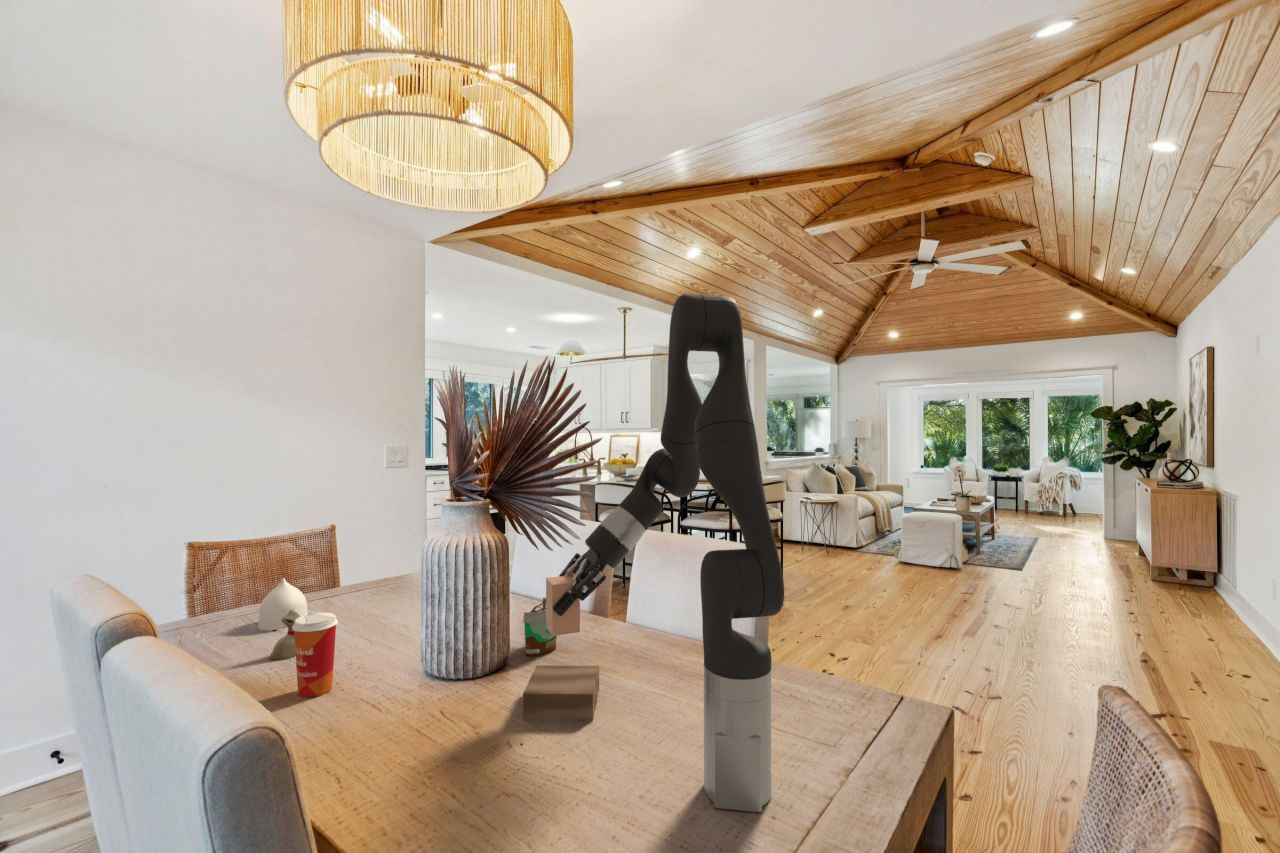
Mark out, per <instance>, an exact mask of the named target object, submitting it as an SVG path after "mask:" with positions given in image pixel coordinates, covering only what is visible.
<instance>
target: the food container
mask: <svg viewBox="0 0 1280 853" xmlns="http://www.w3.org/2000/svg"><path fill="white" fill-rule="evenodd" d="M522 619H523V623H524V642H525V657H526V656H527V657H526V658H531V657H532V658H534V656H537V657H542V656H547V655H551V653H554V652H555V651H556V649H557V638H558V637H557V636H558V635H555V636H552V635H551V633H550V632H549V630H548V629H547V627H546V597H542V602H541V603H540V604H538V605H535V606H534V607H533V608H532V609H531V611H529V612H528V611H527V612H525V611H524V612H523V618H522ZM553 651H554V652H553ZM546 654H547V655H546ZM528 656H529V657H528Z"/></svg>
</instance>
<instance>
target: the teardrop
mask: <svg viewBox="0 0 1280 853" xmlns="http://www.w3.org/2000/svg"><path fill="white" fill-rule="evenodd" d="M258 609H259V610H258V622H257V628H259V629H258V630H260V629H261V630H260V631H263V630H279V629H285V628H288V627H287V626H286V625H285V624H284V623H282V621H281V620H282V618H283V617H285V616H286V615H287V614H288V613H289V611H290V610H294V611H295V612H297V613H298V614H299V615H300V616H304V617H305V616H306V615H309V614H308V602H307V599H306V596H305V595H304V593H303V592H302V591H301V590H300V589H299V588H297V587H295V586H294V585H292V584H290V583H289V582H287V580H286V579H285V576H284V577H282V579H281V581H280V583H278V585H277V586H276V587H274V588H273V589H272V590H270V592H269V593H267V594H266V596H265V597H264V598H263V600H262V601H261V603H260V605H259V608H258ZM279 631H280V630H279Z"/></svg>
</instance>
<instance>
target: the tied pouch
mask: <svg viewBox="0 0 1280 853" xmlns="http://www.w3.org/2000/svg"><path fill="white" fill-rule="evenodd" d="M299 617H301V616H300V615H299V614H298V613H297V612H295V611H294V610H290V611H289V613H288V614H287V615H286V616H285V617H283V618H282V620H281V621H282V623H284V624H285V625H286V626H287V627H288V629H287V633H286V634H285V636H283V637H282V638H280V639H278V640H277V641H276V643H275V645H274V646H273V649H272V650H271V653H270V655H269V660H270V661H275V659H276V660H277V661H279V660H280V659H281V660H286V658H288V659H292V658H291V657H293V658H296V657H295V656H296V653H295V638H294V630H292V627H293V625H294V622H295V620H296V619H297V618H299Z"/></svg>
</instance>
